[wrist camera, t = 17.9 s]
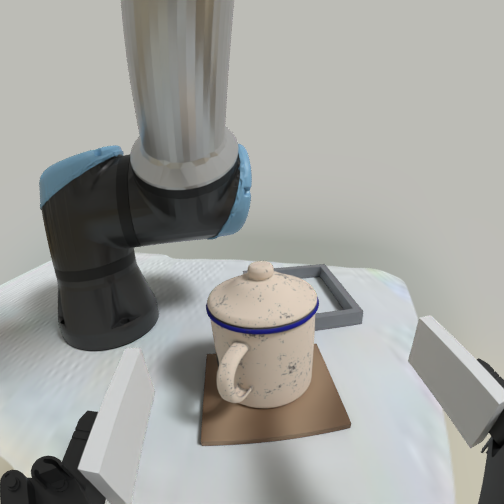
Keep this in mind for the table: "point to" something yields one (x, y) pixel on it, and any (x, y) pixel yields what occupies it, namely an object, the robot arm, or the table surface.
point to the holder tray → (351, 308)
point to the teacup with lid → (263, 336)
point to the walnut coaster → (272, 411)
